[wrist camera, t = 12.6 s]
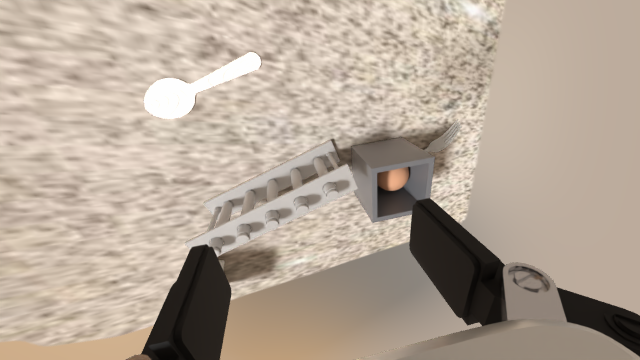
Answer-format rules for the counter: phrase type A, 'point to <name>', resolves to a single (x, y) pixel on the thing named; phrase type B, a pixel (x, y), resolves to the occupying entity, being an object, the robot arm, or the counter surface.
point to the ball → (393, 179)
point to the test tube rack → (275, 198)
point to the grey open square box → (388, 158)
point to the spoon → (193, 88)
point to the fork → (443, 140)
